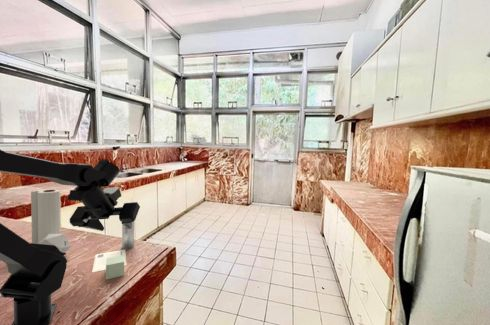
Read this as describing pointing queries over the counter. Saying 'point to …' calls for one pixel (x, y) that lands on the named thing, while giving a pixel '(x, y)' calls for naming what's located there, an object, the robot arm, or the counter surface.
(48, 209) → the paper towel roll
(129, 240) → the tin
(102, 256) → the letter
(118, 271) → the block
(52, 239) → the die
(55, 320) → the counter surface
